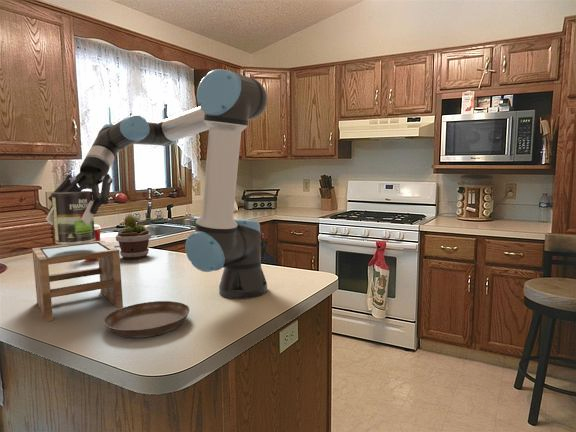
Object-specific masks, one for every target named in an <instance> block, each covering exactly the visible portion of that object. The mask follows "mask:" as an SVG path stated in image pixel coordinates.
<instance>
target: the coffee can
mask: <svg viewBox="0 0 576 432" xmlns="http://www.w3.org/2000/svg"><path fill="white" fill-rule="evenodd" d="M53 192H54V191H53ZM53 192H51V193H50V196H52V202H51V203H52V204H53V215H54V225H53V226H54V236H55V237H54V238H55V244H56V245H58V246H59V245H74V244H83V243H89V242H93V241H95V230H94V225H95V219H94V215H95V214H94V215H93V217H92V219H91V221H90V223H89V225H85V223H84V222H83V221H82V220H81V218H82V216H83V214H84V212H85V210H86V208H87V206H88V204H89V202H90V201H93V199H92V198H93V195H92V190H86V191H85V190H82V191H70V192H54V193H53Z"/></svg>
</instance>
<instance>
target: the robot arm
mask: <svg viewBox="0 0 576 432" xmlns="http://www.w3.org/2000/svg"><path fill="white" fill-rule="evenodd" d="M196 101H197V105H198V107H195V108H192V109H189V110H185V111H184V112H181V113H179V114H176V115H173V116H170V117H168V118H165V119H162V120H160V121H150V120H149V121H148V120H146V118H145V117H142V116H141V115H140V114H132V115H130V116H127V117H125V118H123V119H122V120H121V121H119V122H117V123H105V124H104V125H103V126H102V127H101V129H100V130H99V131H98V133H97V136H96V138H95V140H94V142H93V143H92V145H91V147H90V149H89V151H88V152H87V154H86V156H85V158H84V159H83V161H82V163H81V165H80V166H79V173H78V174H77V175H75V176H73V175H71V174H68V175H67V174H66V177H65V179H64V181H63V182H61V183H60V185H59V186H58V187H57V188H56V189H55V190H54V191H53V192H52V193H54V192H70V191H84V190H87V189H88V190H90V191H91V192H92V201H90V202H89V204H88V206H87V208H86V210H85V212H84V214H83V216H82V218H81V220H82V221H83V222H84V223H85V225H89V223H90V221H91V219H92V217H93V215H96V214H97V212H98V211H99V208H100V207H101V206H102V205H108V204H109V201H110V191H111V185H112V184H113V182H114V180H113V178H112V177H111V175H110V174H109V172H110V169H111V167H112V165H113V163H114V161H115V159H116V157H117V155H118V153H119V152H120V151H122V150H124V149H126V148H127V147H129V146H132V145H145V146H146V145H147V146H149V145H150V146H162V147H163V146H164V147H165V146H172V145H173V144H175V143H176V142H177V141H178V140H181V139H184V138H187V137H191V136H194V135H196V134H199V133H202V132H206V131H208V137H207V138H208V139H207V149H206V150H207V151H206V153H207V154H206V162H205V172H204V173H205V175H204V176H205V177H204V185H203V186H204V188H203V200H202V212H201V216H199V217H198V218H197V219H196V220H195V229H194V231H193V232H192V233H190V235H189V236H188V237H187V238H186V240H185V243H184V245H185V248H184V249H185V254H186V257H187V259H188V261H190V263H191V265H192V266H193V267H194V268H195V269H196V270H197V271H198V270H199V271H201V272H203V273H211V272H214V271H215V272H216V271H219V270H221V269H222V268H223V271H222V274H221V278H220V283H219V286H218V290H219V295H220V296H221V297H222V296H223V297H225V298H229V299H238V300H239V299H253V298H256V297H259V296H263V295H265V294H266V293H267V292H268V282H267V279H266V277H265V274H264V271H263V268H262V247H261V246H262V245H261V241H262V239H261V234H262V232H261V224H260V222H259V221H257V220H251V219H234V212H235V202H236V201H235V200H236V190H237V181H238V170H239V169H238V168H239V160H240V157H239V156H240V148H241V140H242V139H241V137H242V132H243V131H245V130H246V128H248V126H249V125H248V124H249V121H252V120H255V119H257V118H259V117H260V116H261V115H263V113H264V112H265V110H266V108H267V104H268V94H267V91H266V88H265V87H264V85H263V84H262V83H261V82H260V81H258V79H255V78H253V77H249V76H247V75H243V74H242V73H238V72H235V71H233V70H229V69H220V68H219V69H218V68H217V69H214V70H211V71H209V72H208V73H206V75H205V76H203V78H201V81H200V82H199V84H198V87H197V91H196ZM100 184H101V190H100V187H99V185H100ZM48 200H49V201H50V202H51V203H52V196H51V195H49V197H48ZM48 211H49V212H48V213H47V216H46V218H45V220H46V221H47V222H48V224H50V225H51V226H54V215H53V203H52V204H51V206H50V208H49V209H48Z"/></svg>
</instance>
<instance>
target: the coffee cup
mask: <svg viewBox="0 0 576 432" xmlns="http://www.w3.org/2000/svg"><path fill="white" fill-rule="evenodd" d="M101 229H102V228H101V225H99V224H94V230H95V241H100V234H101ZM93 242H94V241H93ZM84 261H86V262H97V261H98V258H94V259H87V260H84Z"/></svg>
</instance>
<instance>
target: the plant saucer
mask: <svg viewBox="0 0 576 432" xmlns="http://www.w3.org/2000/svg"><path fill="white" fill-rule="evenodd" d="M189 314H190V307H189V306H188V305H187V304H185V303H183V302H177V301H170V300H163V301H162V300H157V301H148V302H147V301H146V302H140V303H136V304H132V305H131V304H130V305H128V306H123V307H121V308H118V309H116V310H114V311H112V312H110V313H108V314H107V315H106V316H105V317H104V319H103V324H104V326H105V327H106V329H108V331H110V332H112V333H113V334H115V335H117V336H119V337H123V338H128V339H129V338H131V339H139V338H149V337H155V336H159V335H162V334H166V333H168V332H171V331H173V330H175V329H177V328H178V327H179V326H181V324H182V323H184V321H186V319H187V317H188V316H189Z"/></svg>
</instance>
